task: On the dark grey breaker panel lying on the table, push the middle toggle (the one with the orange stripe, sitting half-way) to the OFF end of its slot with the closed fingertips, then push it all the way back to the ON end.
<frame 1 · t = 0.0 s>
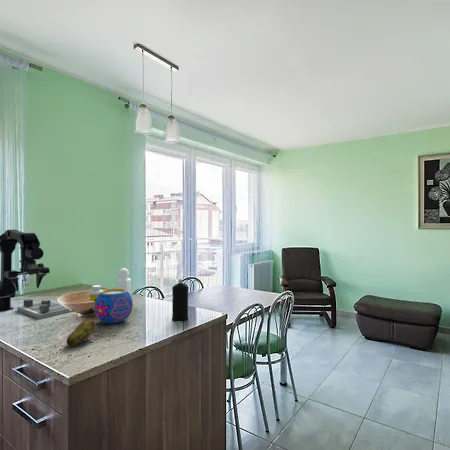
hand: (27, 289, 155), 15 cm above the counter, tool pointing down, fingers open, 9 cm apart
supplement bottle: (96, 309, 173), on the counter
aerosol can: (180, 319, 155), on the counter
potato: (81, 342, 126), on the counter
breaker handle: (45, 303, 169), point 4 cm above the counter, slide at 5.0 cm
ceramic pot: (113, 322, 151), on the counter
white figurine: (123, 306, 178), on the counter
panel: (45, 310, 169), on the counter
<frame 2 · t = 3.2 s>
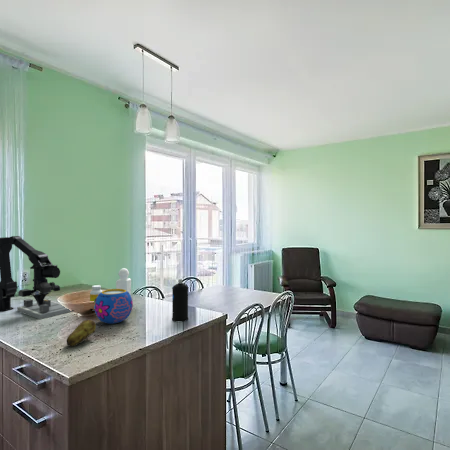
hand: (40, 306, 166), 3 cm above the counter, tool pointing down, fingers closed
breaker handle: (46, 303, 169), point 4 cm above the counter, slide at 5.1 cm, touching gripper
everything else where it was.
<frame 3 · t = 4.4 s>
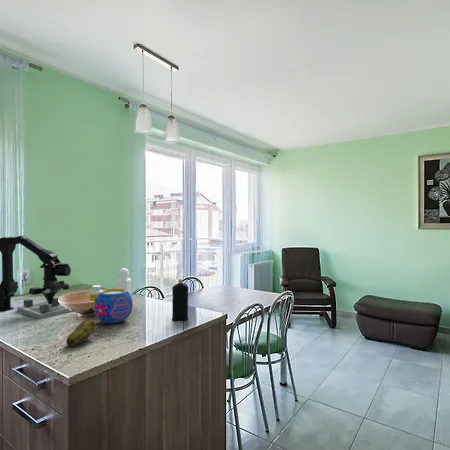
hand: (49, 304, 171), 3 cm above the counter, tool pointing down, fingers closed
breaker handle: (55, 301, 173), point 4 cm above the counter, slide at 10.1 cm, touching gripper
everything else where it was.
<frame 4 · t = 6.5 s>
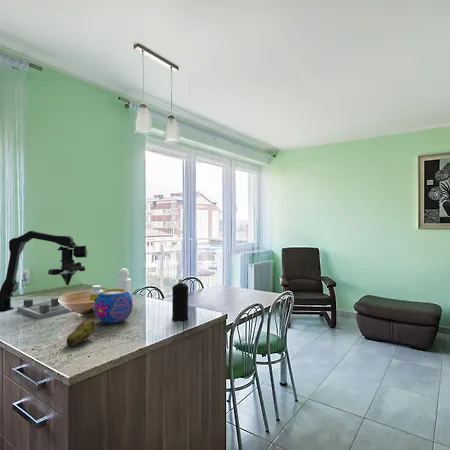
hand: (67, 285, 178), 12 cm above the counter, tool pointing down, fingers closed
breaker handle: (55, 301, 173), point 4 cm above the counter, slide at 10.1 cm
everything else where it was.
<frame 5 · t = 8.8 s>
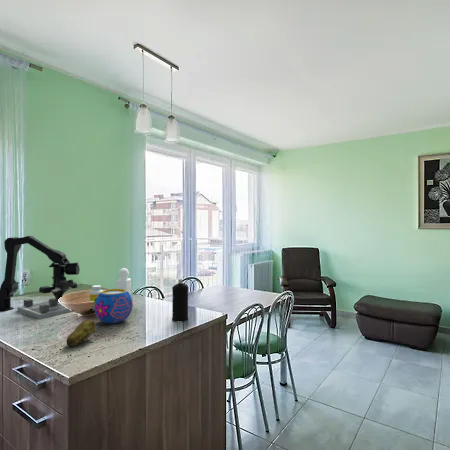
hand: (58, 302, 175), 3 cm above the counter, tool pointing down, fingers closed
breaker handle: (53, 301, 172), point 4 cm above the counter, slide at 8.8 cm, touching gripper
everything else where it was.
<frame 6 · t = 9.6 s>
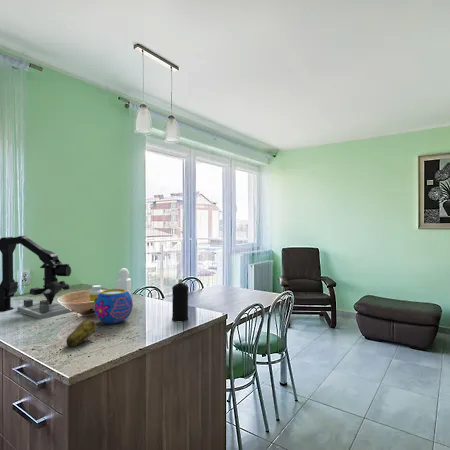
hand: (50, 304, 171), 3 cm above the counter, tool pointing down, fingers closed
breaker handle: (44, 303, 168), point 4 cm above the counter, slide at 4.2 cm, touching gripper
everything else where it was.
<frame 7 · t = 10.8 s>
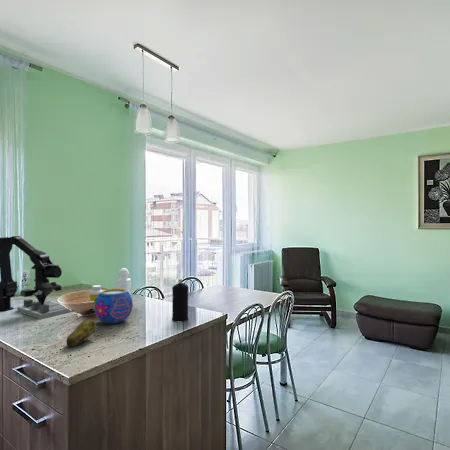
hand: (41, 306, 167), 3 cm above the counter, tool pointing down, fingers closed
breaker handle: (35, 305, 165), point 4 cm above the counter, slide at -0.1 cm, touching gripper
everything else where it was.
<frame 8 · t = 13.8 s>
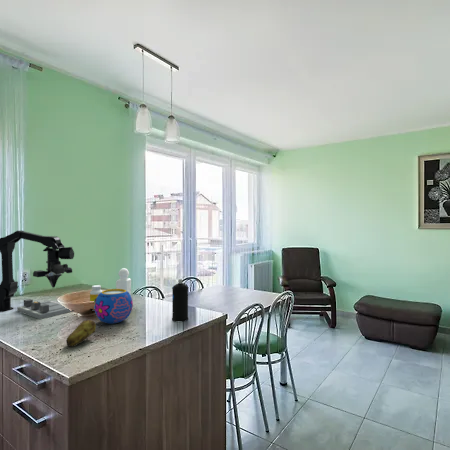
hand: (53, 287, 172), 12 cm above the counter, tool pointing down, fingers closed
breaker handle: (35, 305, 165), point 4 cm above the counter, slide at 0.0 cm
everything else where it was.
at the end: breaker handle slide at 0.0 cm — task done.
